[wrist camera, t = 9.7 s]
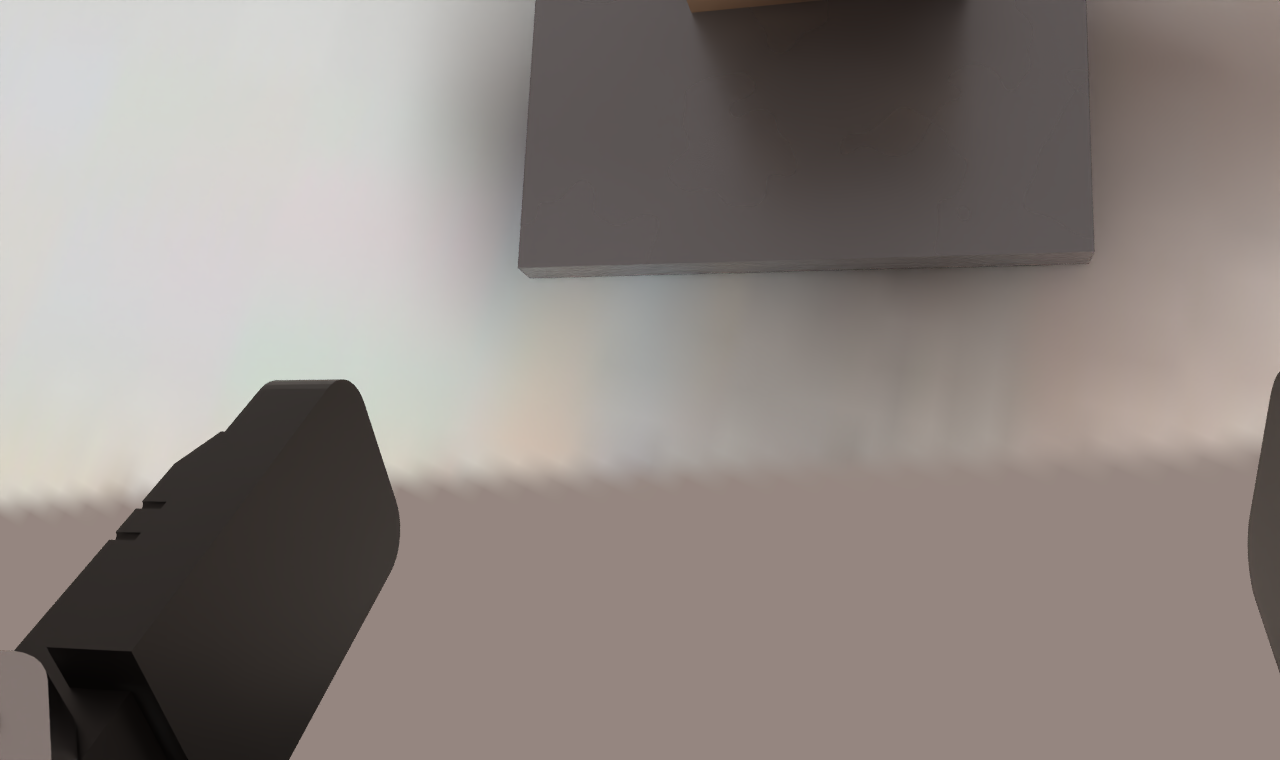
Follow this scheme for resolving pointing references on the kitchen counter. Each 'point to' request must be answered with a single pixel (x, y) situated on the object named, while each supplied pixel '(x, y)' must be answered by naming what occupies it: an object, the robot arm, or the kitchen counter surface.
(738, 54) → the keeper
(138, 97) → the kitchen counter surface
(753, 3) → the link block
